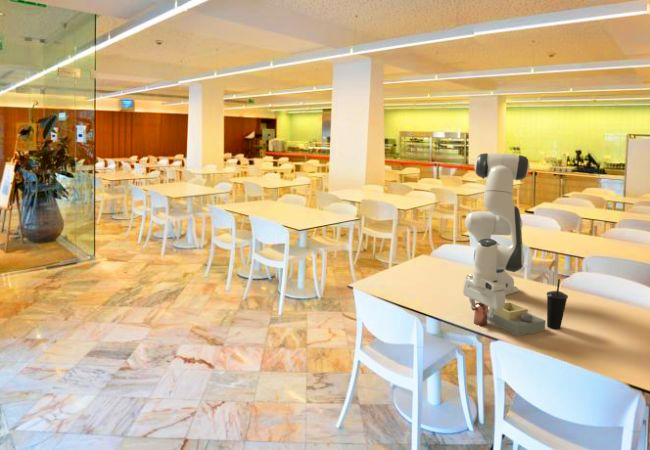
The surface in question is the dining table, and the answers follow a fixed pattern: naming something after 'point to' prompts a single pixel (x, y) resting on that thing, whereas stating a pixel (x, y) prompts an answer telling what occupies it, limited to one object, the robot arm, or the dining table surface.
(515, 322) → the grey block with tray
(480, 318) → the spout can
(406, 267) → the dining table surface
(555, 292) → the drinking cup
